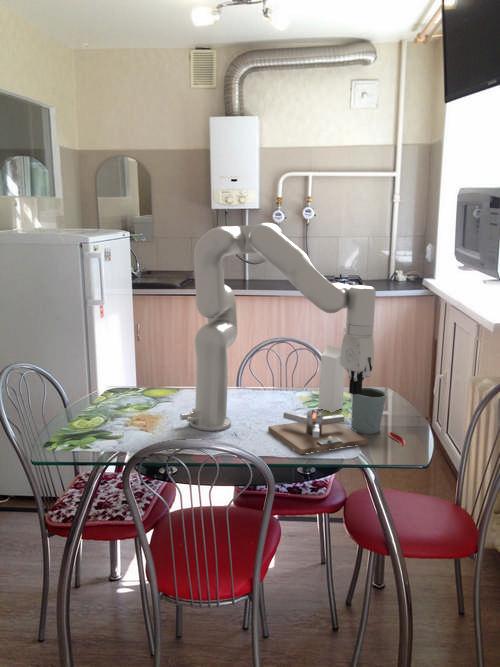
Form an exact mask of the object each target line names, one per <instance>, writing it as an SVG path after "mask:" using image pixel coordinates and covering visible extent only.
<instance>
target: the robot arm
mask: <svg viewBox="0 0 500 667" xmlns="http://www.w3.org/2000/svg"><path fill="white" fill-rule="evenodd" d="M243 254H244V255H246V254H258V255H259V256H260V257H261V258H263V259H264V260H265V261H266V262H268V264H270V265H271V266H273V268H275V269H276V270H277V271H279V272H280V273H281V274H282V275H283V276H284V277H285V278H286V280H288V281H289V282H290V283H291V284H292V285H293V287H295V288H296V290H298V291H299V293H300V294H301V295H302V296H304V297H305V298H306V299H307V300H309V301H310V302H311V303H312V304H313V305H314V306H315V307H317V308H318V309H319V310H321V311H322V312H324V313H326V314H336V313H339V311H341V310H343V309H346V321H345V322H346V323H345V332H344V334H343V338H342V342H341V346H340V347H341V355H340V364H341V366H342V367H344V369H345V371H347V373H348V379H349V387H348V393H349V394H351V395H352V396H353V395H355V394H361V393H362V387H363V381H364V379H365V378H370V377H371V372H372V371H373V369H374V361H375V345H374V344H375V343H374V328H375V327H374V326H375V324H374V323H375V313H376V312H375V309H376V297H377V296H376V295H377V292H376V289H375V287H374V286H370V285H362V284H361V285H360V284H359V285H357V284H356V285H350V284H345V283H340V282H331V281H329V280H328V279H327V277H325V276H324V275H323V274H321V272H319V271H318V270H317V269H316V268H315V267H314V265H313V264H312V262H311V261H310V258H309V256H308V254H306V253H305V251H304V250H302V249H301V248H299V246H297V245H296V244H295V243H293V241H291V240H290V239H289V238H287V237H286V236H285V235H284V233H283V231H282V229H281V228H280V227H279V226H278V225H277V224H275V223H273V222H261V223H259V224H247V225H230V226H229V225H224V226H223V225H222V226H216V227H214V228H211V229H209V230H208V231H206V232H205V233H204V234H202V235H201V236H200V238H199V239H198V241H197V243H196V244H195V247H194V253H193V262H194V263H193V264H194V279H195V280H194V281H195V284H194V285H195V300H196V301H195V302H196V303H195V304H196V308H197V311H198V313H199V314H200V315H201V316H202V317H203V318H206V319H207V323H206V324H204V325H202V326H201V327H200V328H199V330H197V333H196V335H195V337H194V338H195V340H194V348H195V349H194V350H195V357H196V358H195V359H196V362H195V363H196V367H195V368H196V370H195V374H196V376H195V377H196V378H195V405H194V406H195V407H194V408H192V411H189V412H188V413H184V412H183V413H179V419H180V421H187V422H189V424H190V426H191V427H193V428H194V429H196V430H200V431H206V432H207V431H211V432H215V431H221V430H222V431H224V430H225V429H229V428H230V427H231V426H232V421H231V418H229V417H228V416H227V410H228V409H227V407H228V406H227V403H228V383H229V382H228V379H229V376H228V373H229V363H228V348H230V347H231V346H232V345H233V344H234V343H235V342H236V340H237V336H238V320H237V318H238V317H237V302H236V301H237V299H236V296H235V293H234V291H233V290H232V287H230V286H228V285H227V284H225V269H224V266H223V259H224V258H225V257H227V256H228V257H229V256H234V255H243Z"/></svg>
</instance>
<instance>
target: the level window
mask: <svg viewBox="0 0 500 667" xmlns="http://www.w3.org/2000/svg"><path fill="white" fill-rule="evenodd" d="M340 443H342V440H340V439H338V438H335V439H332V441H328V440H322V441H317V444H319V445H320V446H327V445H334V444H340Z"/></svg>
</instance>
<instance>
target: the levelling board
mask: <svg viewBox="0 0 500 667" xmlns="http://www.w3.org/2000/svg"><path fill="white" fill-rule="evenodd" d="M267 431H268V432H269V433H270V434H271V435H272V436H274V437H276V438H277V439H278V440H279V439H280V441H281V442H282V443H284V445H286V444H287V445H286V446H288V447H289V448H291V449H292V450H293V449H294V450H293V451H294V452H296V453H297V452H298V453H297V454H299V455H300V454H301V455H300V456H303V455H302V454H305V455H307V454H306V453H311V452H317V451H323V452H325V451H324V450H329V449H335V448H340V447H347V446H354V447H356V446H355V445H358V446H357V447H359V446H360V447H361V446H366V445H367V441H368V440H367V438H365V437H364V436H362V435H360V434H358V432H356V431H354V430H352V429H349V428H348V427H347V426H344V425H343V424H341V423H334V424H327V425H322V433H321V434H319V438H316V437H313V436H312V434H309V433H307V432H306V424H304V423H300V422H291V423H283V424H275V425H270V426H268V428H267ZM329 436H331V437H332V439H335V438H338V439H340V440H342V443H340V444H334V445H327V446H320V445H319V444H317V441H322V440H328V439H327V438H328V437H329ZM335 450H336V449H335ZM329 451H330V450H329ZM317 453H318V452H317ZM311 454H312V453H311Z"/></svg>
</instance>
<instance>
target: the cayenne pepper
mask: <svg viewBox="0 0 500 667" xmlns="http://www.w3.org/2000/svg"><path fill="white" fill-rule="evenodd" d="M387 436H388V437H389V438H390V439H392V440H394V441H396V442H397V443H399V444H400V445H401V446H400V447H401V448H402V447H403V446H406V444H407V442H406V440H405V439H403V437H402V436H401V435H399V434H396V433H394V432H393V431H390V432H389V433H387Z"/></svg>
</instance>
